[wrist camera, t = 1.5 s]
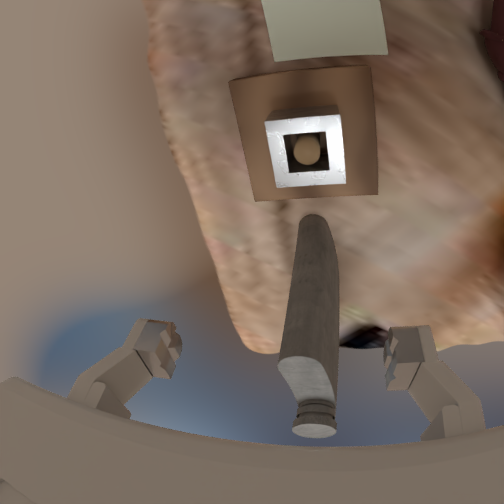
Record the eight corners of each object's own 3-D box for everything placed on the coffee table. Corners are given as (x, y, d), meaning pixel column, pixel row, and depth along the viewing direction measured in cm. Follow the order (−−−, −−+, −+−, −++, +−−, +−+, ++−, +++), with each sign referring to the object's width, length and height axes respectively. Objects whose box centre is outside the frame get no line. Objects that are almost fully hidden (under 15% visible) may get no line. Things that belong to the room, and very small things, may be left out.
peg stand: (366, 65, 22) (379, 71, 18) (375, 185, 29) (384, 216, 25) (234, 79, 26) (214, 89, 21) (258, 192, 33) (246, 223, 28)
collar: (337, 104, 24) (340, 114, 21) (343, 164, 27) (346, 183, 24) (271, 110, 25) (264, 121, 22) (282, 169, 28) (276, 187, 25)
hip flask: (296, 215, 33) (267, 388, 18) (334, 212, 32) (333, 389, 17) (313, 315, 42) (297, 456, 27) (343, 314, 41) (336, 457, 26)
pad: (367, -45, 16) (368, -46, 15) (387, 54, 21) (388, 54, 21) (253, -35, 18) (252, -36, 18) (275, 61, 24) (274, 62, 24)
